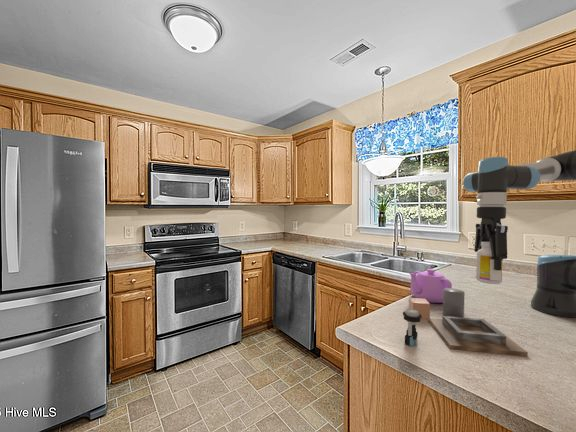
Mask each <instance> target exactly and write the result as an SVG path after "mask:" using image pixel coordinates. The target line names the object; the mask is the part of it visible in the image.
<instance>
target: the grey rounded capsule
mask: <svg viewBox="0 0 576 432" xmlns="http://www.w3.org/2000/svg"><path fill="white" fill-rule="evenodd" d="M442 316H451V317H465V291H463V290H461V289H458V288H445V289H443V303H442Z"/></svg>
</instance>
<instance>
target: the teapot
mask: <svg viewBox="0 0 576 432" xmlns="http://www.w3.org/2000/svg"><path fill="white" fill-rule="evenodd" d="M407 273H409V275H410V278H411V279H410V292H411V294H412V295H413V298H422V299H426V300H427V301H428V302H429V303H430V304H431V303H433V304H434V303H435V304H436V303H437V304H439V303H440V304H443V289H445V288H452V287H453V284H452V282H451V281H450V280H449V279H447V278H446V277H445V276H444V275H443V274H442V273H439V272H436V269H433V268H427V269H426V271H420V270H416V271H414V272H413V273H412V272H407Z"/></svg>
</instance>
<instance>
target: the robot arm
mask: <svg viewBox="0 0 576 432" xmlns="http://www.w3.org/2000/svg"><path fill="white" fill-rule="evenodd" d="M554 181H555V182H557V181H558V182H560V181H561V182H562V181H565V182H566V181H567V182H568V181H576V149H575V150H570V151H566V152H563V153H560V154H556V155H552V156H548V157H542V158H540V159H538V160H537V161H534V162H529V163H522V164H517V165H509V160H508V158H507V157H504V156H492V157H485V158H482V159H480V161H478V169H477V171H474V172H469V173H468V174H466V175H465V176H464V177H463V179H462V186H463V189H464V190H465V191H467V192H469V193H470V192H471V193H477V196H476V197H475V198H476V200H477V201H476V204H477V205H478V206H477V207H476V218H477V219H481V221H480V223H476V224H475V240H474V252H475V253H477V251H478V250H480V249H481V248H482V246H481V242H490V246H491V252H492V257H491V258H490V280H495V281H501V265H502V266H503V261H504V260H506V259H508V237H507V236H508V235H507V234H508V230H509V228H508V225H502V221H501V220H503V219H506V218H507V207H505V206H506V205H507V197H508V192H507V191H508V190H529V189H534V188H535V187H536V186H537V185H538V184H539V183H540V182H544V183H545V182H546V183H548V182H554ZM536 269H537V270H536V289H535V292H534V293H533V295H532V299H531V300H530V307H531V308H532V309H534V310H536V311H538V312H541V313H545V314H548V315H552V316H558V317H564V318H576V255H574V254H573V255H571V254H542V255H540V256H538V258H537V264H536Z"/></svg>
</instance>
